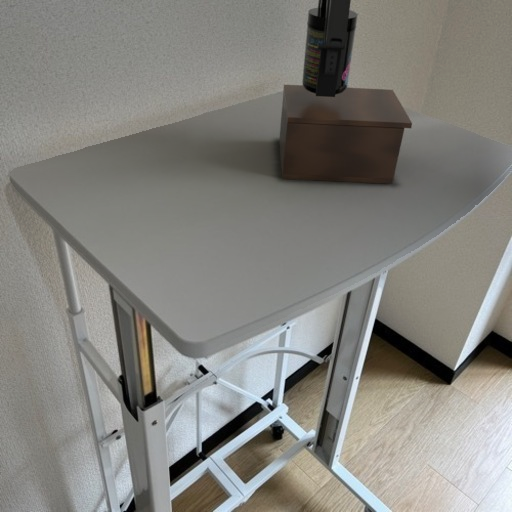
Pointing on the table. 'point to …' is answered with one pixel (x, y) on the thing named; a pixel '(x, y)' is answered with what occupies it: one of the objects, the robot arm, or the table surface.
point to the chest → (338, 151)
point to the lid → (346, 108)
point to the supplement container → (313, 53)
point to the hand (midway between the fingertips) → (322, 86)
